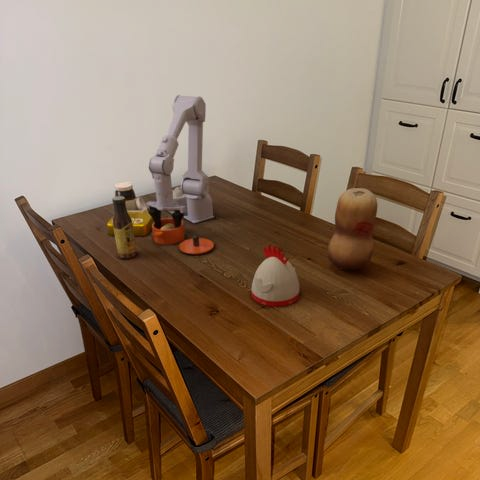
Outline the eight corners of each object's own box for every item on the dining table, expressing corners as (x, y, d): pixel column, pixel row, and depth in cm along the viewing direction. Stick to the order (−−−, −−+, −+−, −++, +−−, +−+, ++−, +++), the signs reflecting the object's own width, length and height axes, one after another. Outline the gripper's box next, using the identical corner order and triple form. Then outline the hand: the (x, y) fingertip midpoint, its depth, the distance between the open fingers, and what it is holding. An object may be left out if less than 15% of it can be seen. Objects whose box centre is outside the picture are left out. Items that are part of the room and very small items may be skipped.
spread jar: (115, 210, 195) (110, 182, 189) (142, 205, 199) (138, 178, 193) (122, 220, 186) (117, 191, 180) (150, 215, 190) (146, 186, 184)
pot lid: (219, 243, 167) (218, 231, 164) (204, 258, 157) (203, 245, 155) (189, 238, 171) (188, 227, 168) (172, 252, 161) (171, 240, 159)
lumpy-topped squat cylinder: (165, 209, 195) (162, 188, 190) (192, 202, 201) (191, 182, 196) (176, 217, 188) (174, 196, 183) (204, 210, 193) (203, 189, 189)
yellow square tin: (157, 220, 185) (155, 208, 183) (147, 236, 173) (145, 224, 170) (120, 220, 187) (118, 208, 184) (107, 235, 174) (105, 223, 172)
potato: (168, 233, 175) (165, 221, 172) (179, 233, 173) (176, 221, 171) (159, 240, 170) (155, 228, 167) (169, 241, 168) (167, 228, 165)
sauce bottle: (132, 260, 158) (123, 202, 146) (115, 258, 159) (104, 201, 147) (140, 251, 163) (131, 195, 152) (123, 250, 164) (113, 194, 153)
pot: (193, 231, 176) (192, 217, 173) (171, 249, 163) (169, 235, 160) (167, 227, 180) (165, 213, 177) (143, 245, 167) (141, 230, 164)
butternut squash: (337, 281, 143) (346, 201, 128) (319, 262, 153) (325, 186, 139) (379, 274, 145) (391, 195, 131) (358, 256, 156) (368, 181, 142)
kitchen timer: (270, 277, 146) (271, 232, 137) (308, 291, 138) (311, 244, 130) (241, 296, 137) (240, 248, 128) (280, 311, 129) (282, 262, 121)
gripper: (139, 193, 161) (145, 230, 169) (177, 198, 157) (180, 236, 164) (150, 187, 167) (155, 223, 174) (187, 191, 162) (190, 228, 170)
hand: (168, 229), depth 170 cm, fingers open, 7 cm apart
